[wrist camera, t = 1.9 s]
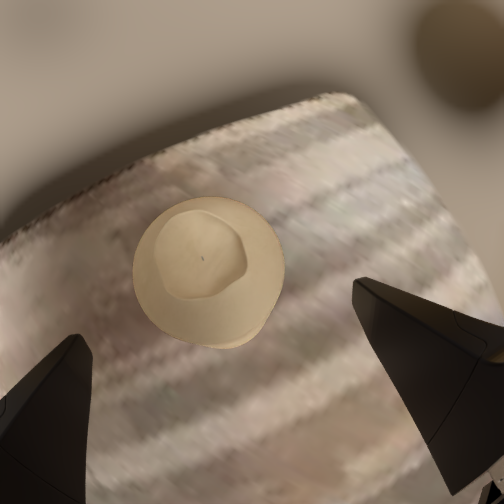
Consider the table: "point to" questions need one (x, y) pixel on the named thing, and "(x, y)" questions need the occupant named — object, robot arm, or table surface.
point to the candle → (209, 272)
